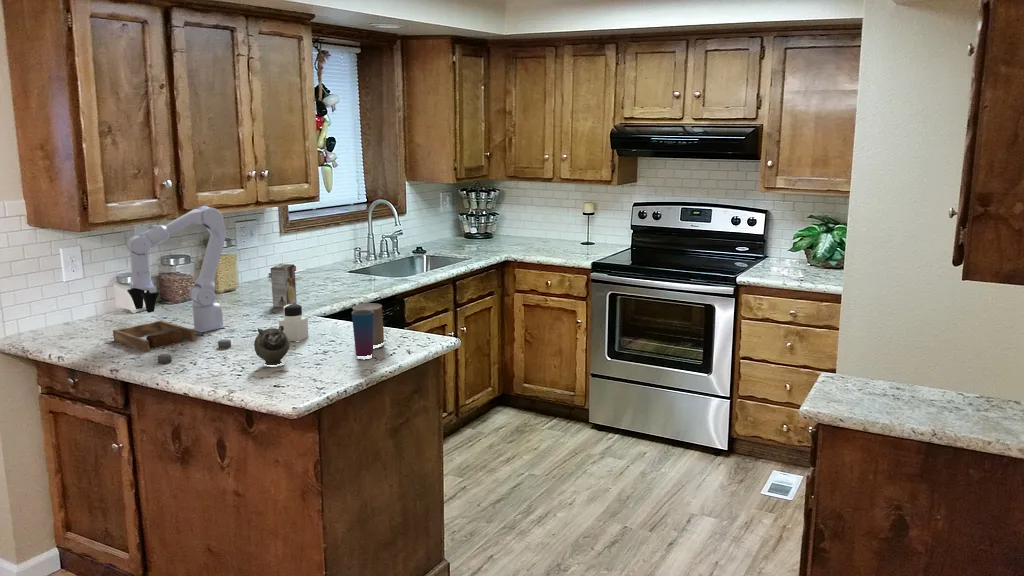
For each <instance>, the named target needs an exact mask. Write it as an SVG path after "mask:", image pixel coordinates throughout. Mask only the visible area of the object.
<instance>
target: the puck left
mask: <svg viewBox="0 0 1024 576" xmlns="http://www.w3.org/2000/svg"><path fill="white" fill-rule="evenodd" d="M156 357H157V364H159V365H166V364H170V363H172V362H171V361H172V354H170V353H162V354H159V355H157V356H156Z"/></svg>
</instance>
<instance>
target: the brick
mask: <svg viewBox="0 0 1024 576" xmlns="http://www.w3.org/2000/svg"><path fill="white" fill-rule="evenodd" d="M145 340H148V341H149V346H150V347H149V348H152V349H155V348H156V347H157V348H161V346H162V347H166V346H169V344H170V345H174V344H173V343H175V344H178V343H177V342H179V343H182V342H183V338H182V331H181V329H179V328H171V329H166V330H162V331H158V332H155V333H151V334H148V335H147V336H146V337H145ZM181 341H182V342H181ZM165 345H166V346H165Z"/></svg>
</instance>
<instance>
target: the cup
mask: <svg viewBox="0 0 1024 576" xmlns="http://www.w3.org/2000/svg"><path fill="white" fill-rule="evenodd" d="M373 314H374V312H373V311H372V310H356V311H353V310H352V311H351V319H352V320H351V321H352V330H353V337H354V338H353V340H354V348H355V356H356V355H357V356H367V355H371V354H372V353H374V349H373Z"/></svg>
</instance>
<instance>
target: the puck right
mask: <svg viewBox="0 0 1024 576" xmlns="http://www.w3.org/2000/svg"><path fill="white" fill-rule="evenodd" d="M217 346H218V347H219V348H218V349H220V348H225V349H230V348H231V347H232V341H231V340H230V339H220V340H218V341H217ZM229 347H230V348H229Z"/></svg>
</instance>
